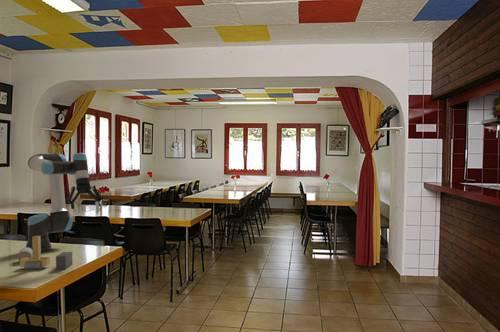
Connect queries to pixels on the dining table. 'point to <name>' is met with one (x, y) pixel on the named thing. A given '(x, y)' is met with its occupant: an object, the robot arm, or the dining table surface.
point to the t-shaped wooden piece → (36, 253)
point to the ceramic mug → (25, 253)
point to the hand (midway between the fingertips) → (86, 213)
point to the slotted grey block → (63, 260)
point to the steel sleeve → (32, 266)
